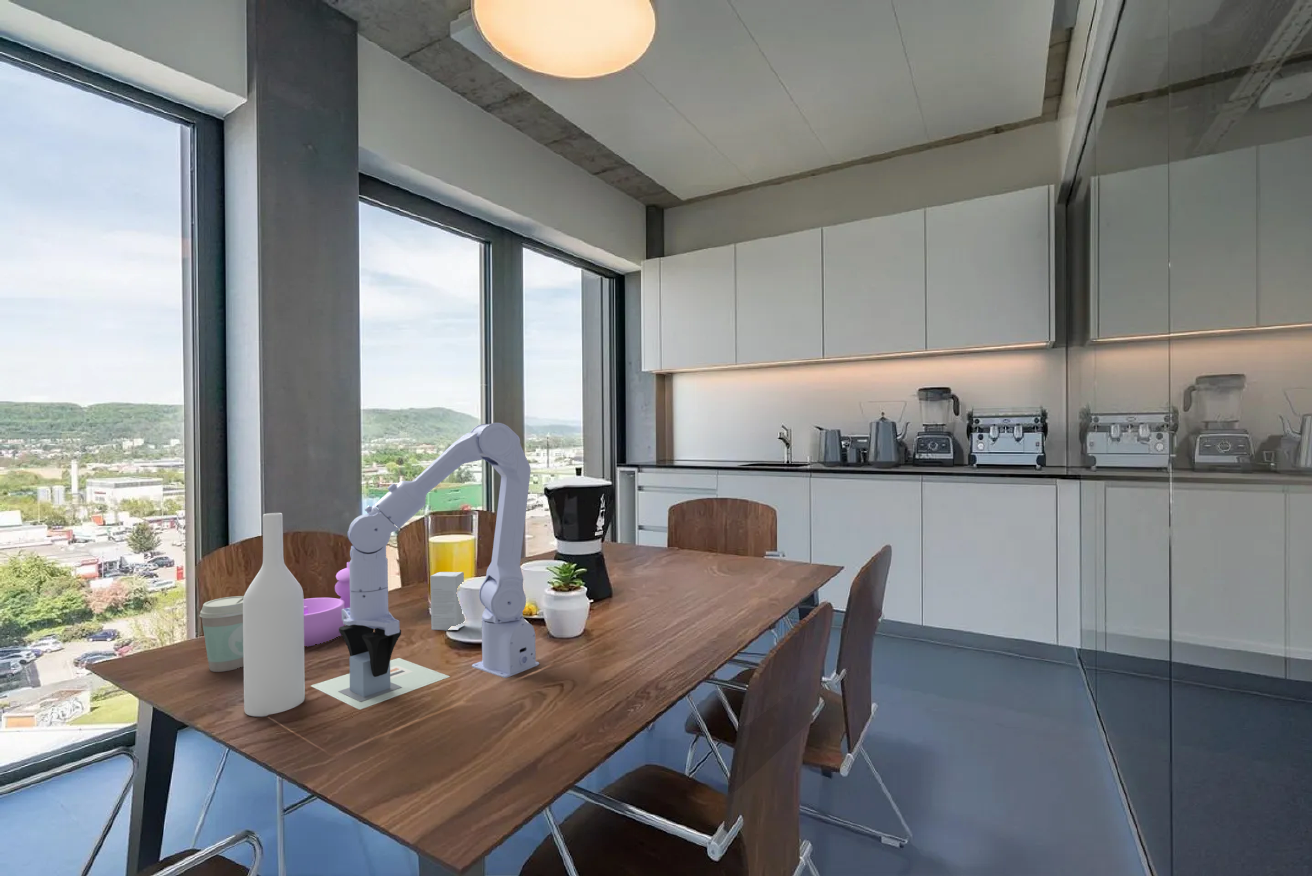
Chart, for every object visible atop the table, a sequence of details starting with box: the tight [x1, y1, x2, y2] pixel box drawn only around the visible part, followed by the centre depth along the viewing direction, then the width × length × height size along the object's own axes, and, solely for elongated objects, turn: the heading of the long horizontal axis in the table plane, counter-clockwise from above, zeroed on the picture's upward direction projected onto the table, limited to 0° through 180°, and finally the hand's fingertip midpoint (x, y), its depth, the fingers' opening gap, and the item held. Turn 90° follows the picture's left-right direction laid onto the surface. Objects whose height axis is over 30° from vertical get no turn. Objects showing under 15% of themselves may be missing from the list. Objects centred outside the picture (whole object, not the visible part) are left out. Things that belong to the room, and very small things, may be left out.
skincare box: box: [429, 571, 466, 632], centre depth 136 cm, size 6×4×12 cm
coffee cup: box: [199, 595, 244, 673], centre depth 115 cm, size 8×9×12 cm
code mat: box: [310, 657, 451, 710], centre depth 106 cm, size 16×16×1 cm
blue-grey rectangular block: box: [348, 652, 390, 697], centre depth 102 cm, size 4×4×6 cm
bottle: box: [243, 512, 306, 718], centre depth 97 cm, size 8×8×30 cm
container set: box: [304, 561, 350, 647], centre depth 136 cm, size 25×15×13 cm, turn 164°
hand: (370, 670), depth 102 cm, fingers open, 5 cm apart
